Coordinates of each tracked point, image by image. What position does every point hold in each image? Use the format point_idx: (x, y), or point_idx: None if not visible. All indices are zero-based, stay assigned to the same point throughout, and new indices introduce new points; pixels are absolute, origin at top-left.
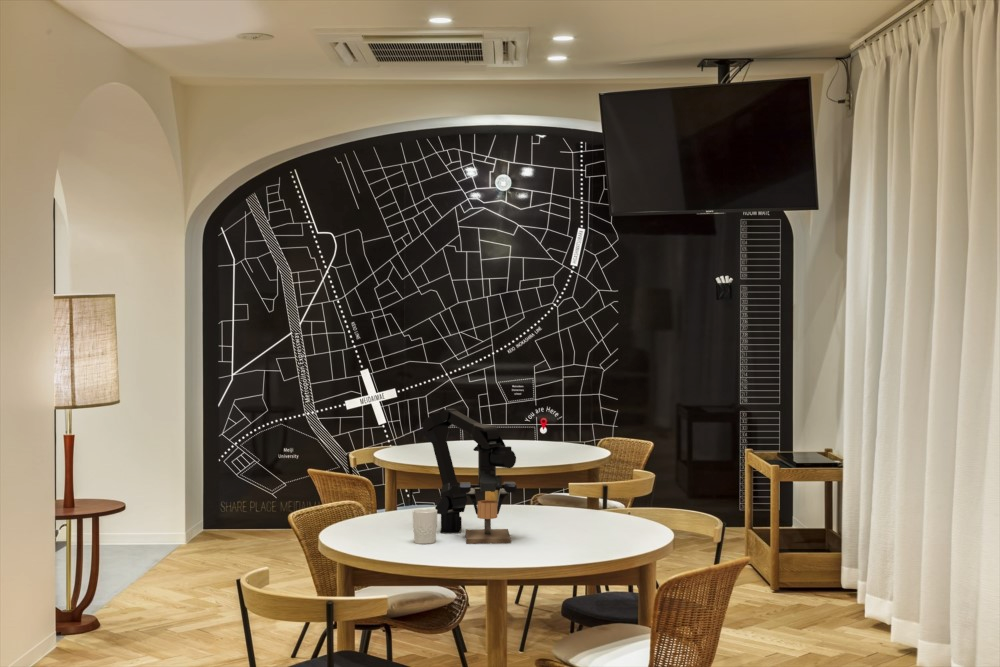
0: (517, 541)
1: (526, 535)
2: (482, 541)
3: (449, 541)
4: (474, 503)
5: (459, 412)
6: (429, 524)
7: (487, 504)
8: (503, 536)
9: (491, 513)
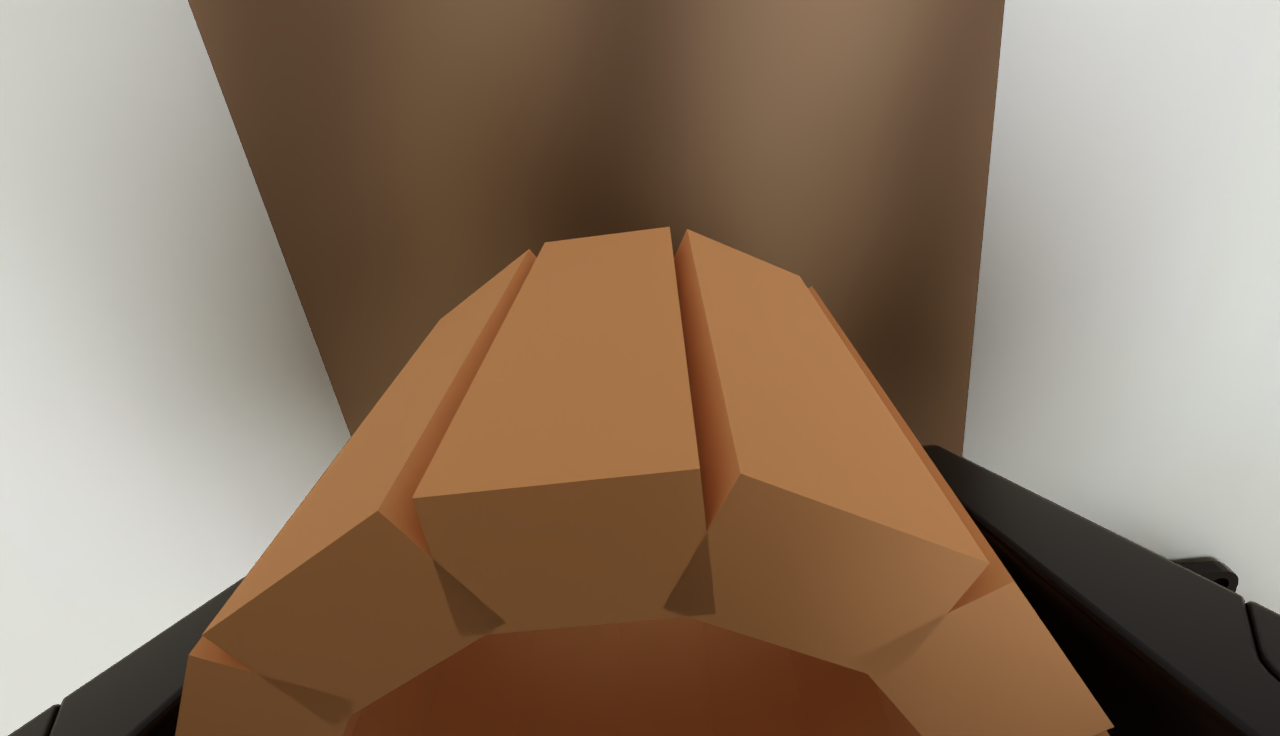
0: (162, 108)
1: (191, 499)
2: None
3: (1233, 44)
4: (1249, 641)
5: None
6: None
7: (572, 442)
8: (344, 109)
9: (477, 312)
